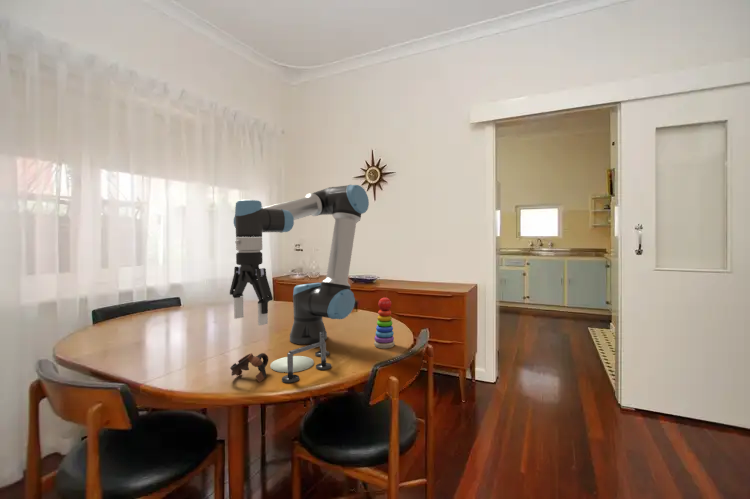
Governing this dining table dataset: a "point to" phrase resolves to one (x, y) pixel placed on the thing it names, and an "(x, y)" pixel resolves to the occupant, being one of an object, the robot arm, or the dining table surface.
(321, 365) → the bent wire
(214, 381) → the dining table surface
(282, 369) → the sage pad
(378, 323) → the stacking toy
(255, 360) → the brown angular figure
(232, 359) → the dining table surface
